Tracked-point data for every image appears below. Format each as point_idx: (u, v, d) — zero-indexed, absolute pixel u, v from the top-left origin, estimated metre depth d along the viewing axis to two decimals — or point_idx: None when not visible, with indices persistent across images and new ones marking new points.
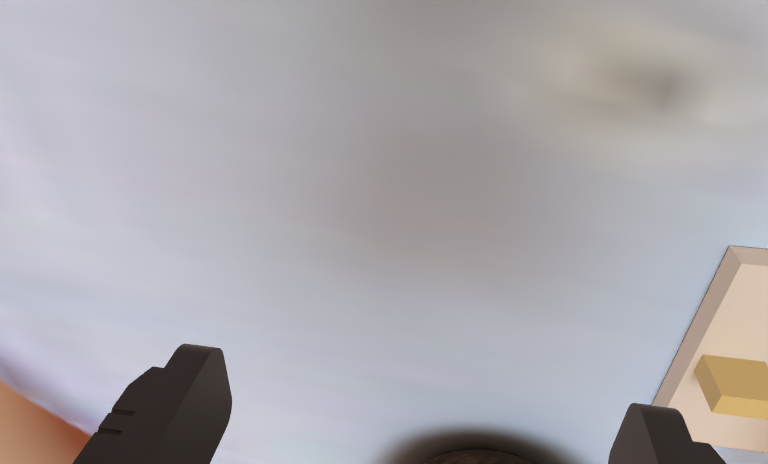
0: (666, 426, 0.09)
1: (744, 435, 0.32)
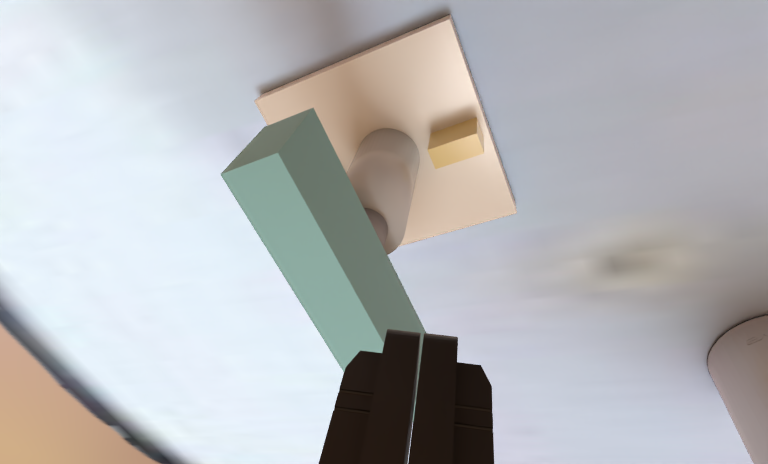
0: (439, 349, 0.10)
1: (382, 71, 0.33)
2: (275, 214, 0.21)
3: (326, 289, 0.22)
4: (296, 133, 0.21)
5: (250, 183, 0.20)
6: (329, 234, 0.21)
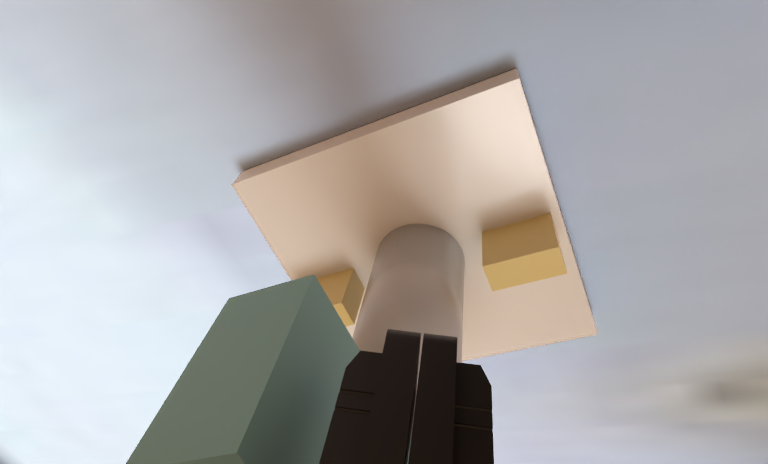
0: (438, 349, 0.10)
1: (414, 149, 0.23)
2: None
3: None
4: (279, 362, 0.11)
5: None
6: None
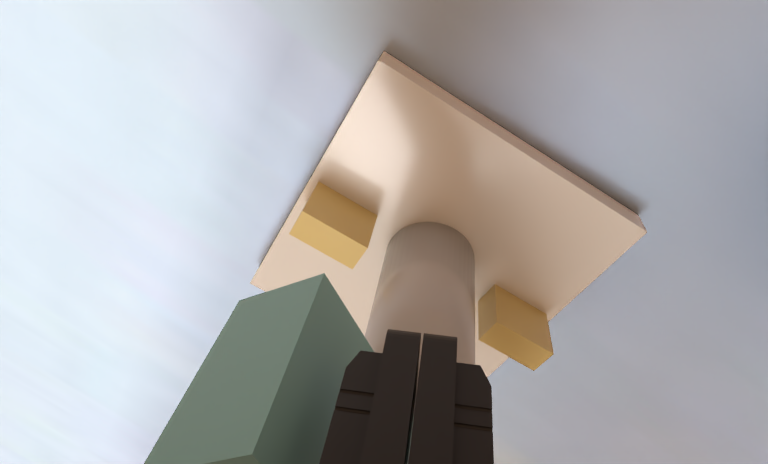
0: (439, 349, 0.10)
1: (536, 197, 0.23)
2: None
3: None
4: (292, 362, 0.10)
5: None
6: None
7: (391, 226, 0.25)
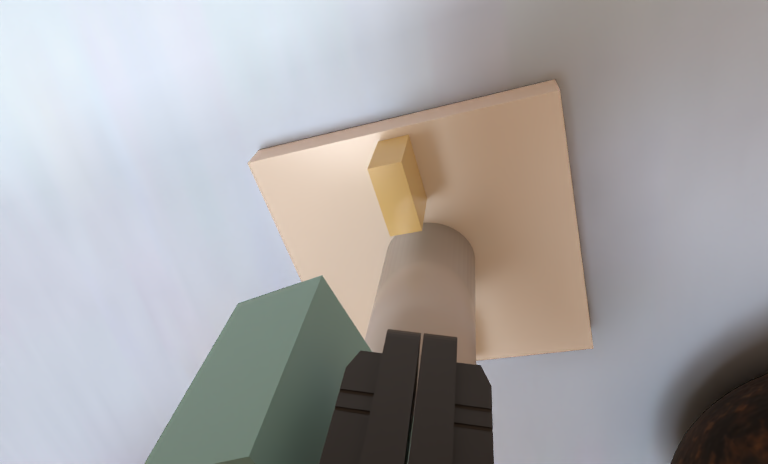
0: (438, 349, 0.10)
1: (553, 275, 0.25)
2: None
3: None
4: (289, 364, 0.10)
5: None
6: None
7: (428, 215, 0.25)
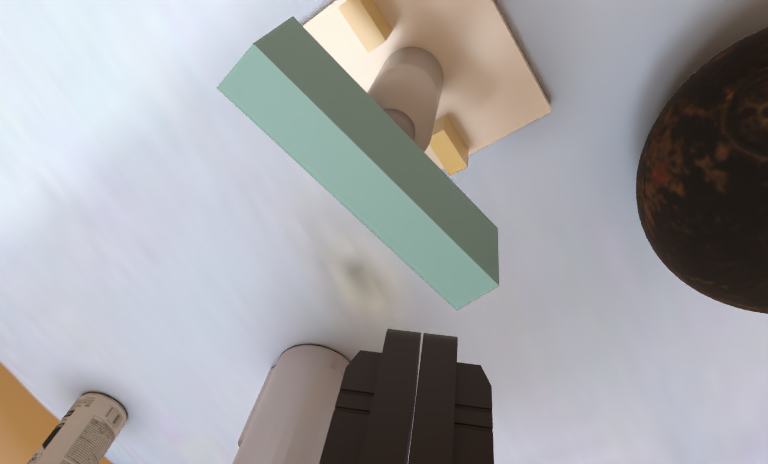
0: (438, 349, 0.10)
1: (498, 59, 0.35)
2: (275, 109, 0.22)
3: (349, 170, 0.23)
4: (273, 32, 0.22)
5: (243, 86, 0.21)
6: (332, 114, 0.22)
7: (398, 42, 0.35)
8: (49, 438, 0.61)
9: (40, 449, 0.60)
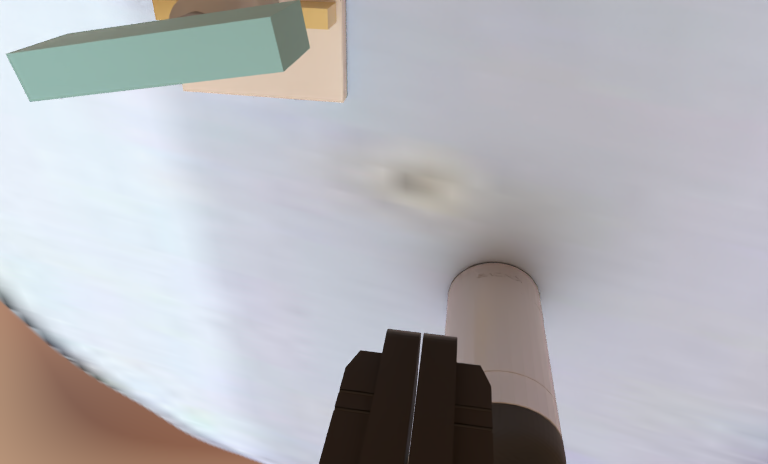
0: (439, 349, 0.10)
1: None
2: (55, 76, 0.28)
3: (117, 61, 0.27)
4: (35, 44, 0.30)
5: (33, 83, 0.29)
6: (77, 42, 0.27)
7: None
8: None
9: None
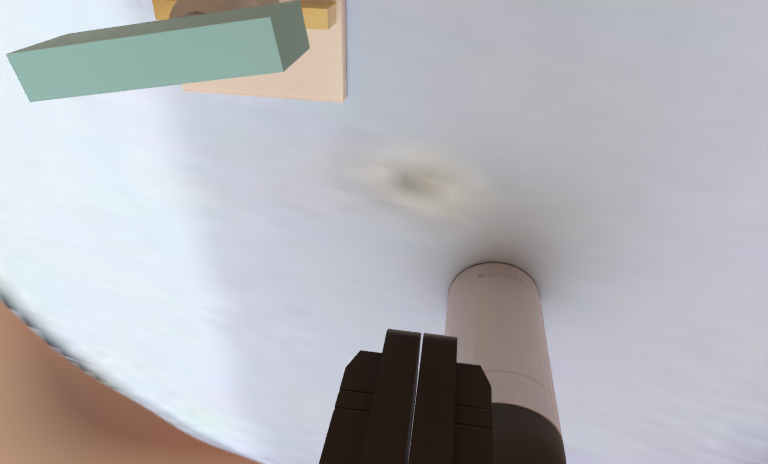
0: (439, 349, 0.10)
1: None
2: (55, 76, 0.28)
3: (117, 62, 0.27)
4: None
5: (33, 83, 0.29)
6: (77, 42, 0.27)
7: None
8: None
9: None
